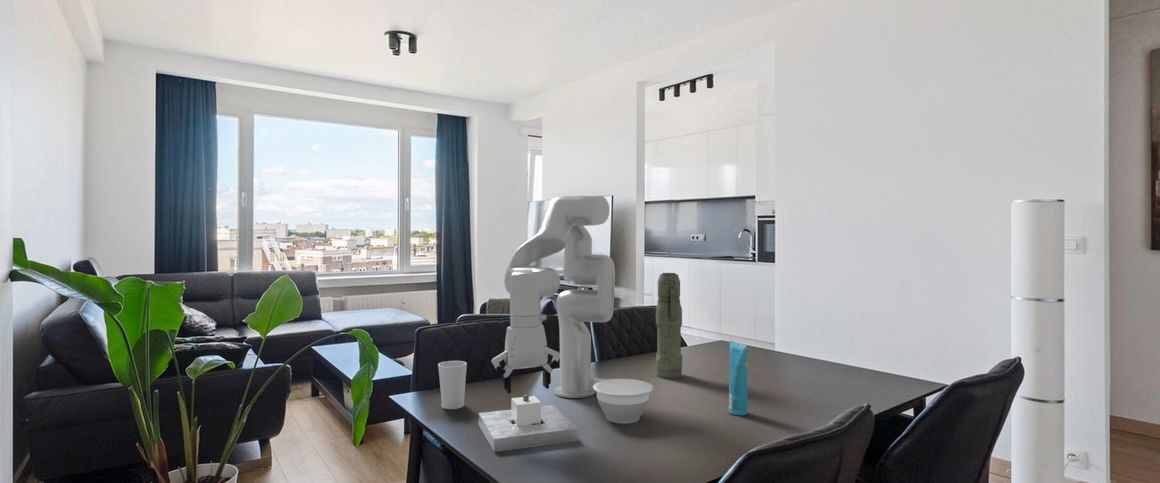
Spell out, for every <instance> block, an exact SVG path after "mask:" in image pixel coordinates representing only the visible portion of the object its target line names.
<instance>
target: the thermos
mask: <svg viewBox="0 0 1160 483" xmlns="http://www.w3.org/2000/svg"><path fill="white" fill-rule="evenodd" d="M680 297H681V281H680V276H679V274H677V273H676V272H662V273H660V274H659V276H658V279H657V298H658V299H657V304H656V308H655V324H656V328H657V331H656V334H657V338H656V339H657V347H656V348H657V350H656V355H655V368H656V374H655V375H656V377H658V378H661V379H668V380H671V379H672V380H673V379H674V380H677V379H680V378H682V376H683V373H682V371H683V356H682V353H681V352H682V348H681V347H682V344H681V342H682V340H681V339H682V337H681V336H682V334H681V333H682V332H681V330H682V329H681V328H682V325H683V309H682V304H681V299H680Z"/></svg>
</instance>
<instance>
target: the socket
mask: <svg viewBox="0 0 1160 483" xmlns="http://www.w3.org/2000/svg"><path fill="white" fill-rule="evenodd" d="M478 426H479V429H480V430H481V431H482V433H483V435H484V438H485V439H486V441H487V442H488V444H489V446H490V448H491V449H492V452H494V453H500V452H506V451H507V452H508V451H513V450H521V449H529V448H535V447H536V448H537V447H544V446H550V445H560V444H564V443H565V444H567V443H573V442H578V441H579V439H578V438H579V432H578V431H579V429H578V428H577V426H576V425H575V424H574V423H573V422H572V421H570V419H568V418H567V416H565V415H564V414H563V413H562V412H561V411H560V410H559V409H558V408H557V407H556V406H555V405H554V404H550V405H541V423H540V424H537V425H534V424H526V425H518V426H517V425H516V424H514V421H513V420H512V418H511V409H504V410H503V409H502V410H496V411H486V412H485V411H483V412H478Z"/></svg>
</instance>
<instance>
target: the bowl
mask: <svg viewBox="0 0 1160 483" xmlns="http://www.w3.org/2000/svg"><path fill="white" fill-rule="evenodd" d="M593 388H594V390H596V397H597V402H598V404H599V406H600V408H601V410H602V412H603V414H604V415H605V416H606V419H607V421H609V422H612V423H615V424H632V423H636V422H639V421H640V418H641V415H642V414H643V413H644V411H645V409H646V408H647V406H648V404H649V400H650V393H651V392H652V391H653V390H654V385H653V384H651V383H649V382H647V381H643V380H639V379H632V378H611V379H609V378H608V379H605V380H603V381H600V382H597V383H595V384H594V385H593Z"/></svg>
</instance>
